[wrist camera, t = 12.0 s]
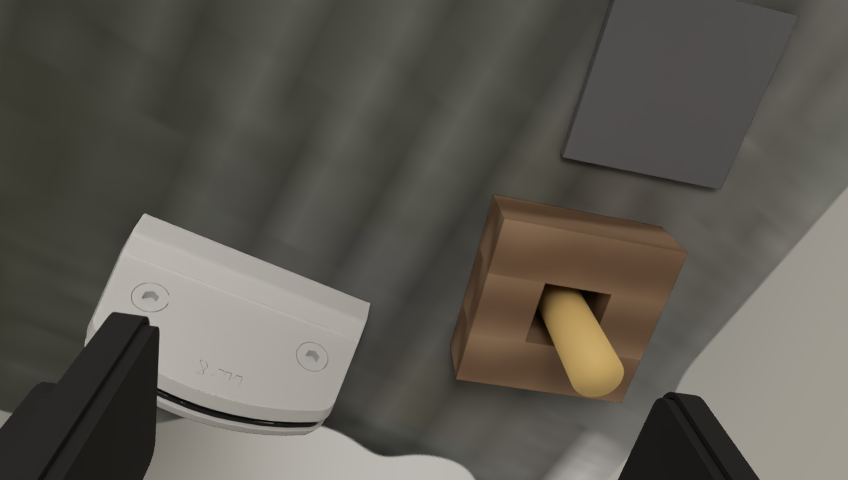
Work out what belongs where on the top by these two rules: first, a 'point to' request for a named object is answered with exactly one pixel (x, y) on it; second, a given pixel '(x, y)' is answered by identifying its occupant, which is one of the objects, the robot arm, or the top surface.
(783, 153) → the top surface
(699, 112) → the mat
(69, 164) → the top surface
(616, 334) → the hole block
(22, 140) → the top surface
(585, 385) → the peg
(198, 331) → the white plastic device case
